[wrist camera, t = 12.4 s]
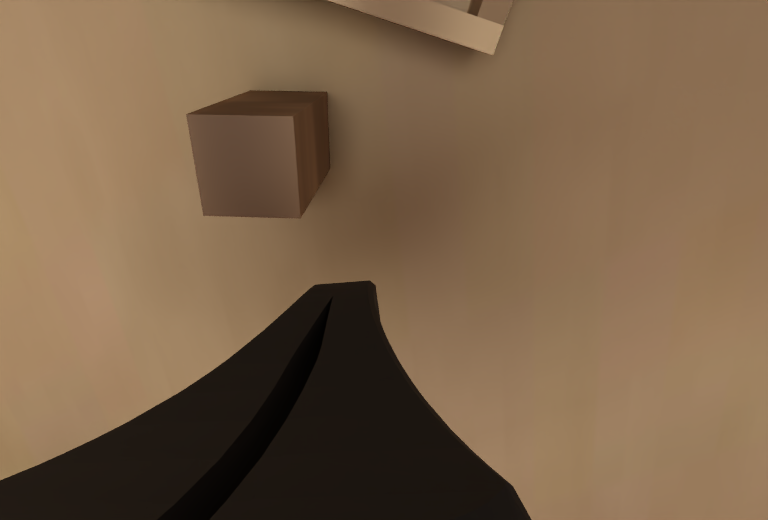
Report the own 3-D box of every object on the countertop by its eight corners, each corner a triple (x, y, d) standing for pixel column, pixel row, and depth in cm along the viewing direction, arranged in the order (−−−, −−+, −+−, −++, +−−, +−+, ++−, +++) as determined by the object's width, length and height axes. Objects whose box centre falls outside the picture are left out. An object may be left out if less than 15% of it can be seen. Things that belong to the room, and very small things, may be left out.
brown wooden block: (326, 91, 18) (293, 116, 13) (330, 168, 19) (300, 218, 14) (250, 90, 18) (186, 114, 13) (258, 166, 19) (203, 215, 14)
